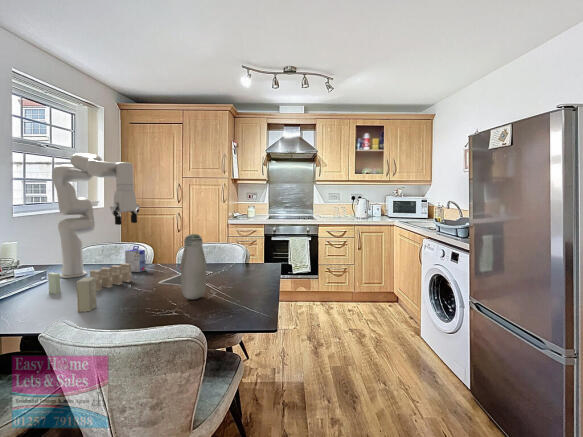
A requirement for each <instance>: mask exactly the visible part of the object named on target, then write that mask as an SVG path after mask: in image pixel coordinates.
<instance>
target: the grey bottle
mask: <svg viewBox="0 0 583 437" xmlns="http://www.w3.org/2000/svg"><path fill="white" fill-rule="evenodd" d="M183 243H184V246H183V251H182V252H183V253H182V256H181V259H180V266H181V270H180V274H181V286H180V288H181V292H182V295H183V296H184V298H186V299H187V300H197V299H200V298H201V297H203V296H204V294H205V293H206V289H207V276H206V272H207V261H206V255H205V252H204V247H203V238H202V236H201V235H200V234H198V233H197V234H196V233H195V234H194V233H193V234H191V233H190V234H188V235H186V236H185V237H184V240H183Z"/></svg>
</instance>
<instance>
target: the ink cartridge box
mask: <svg viewBox="0 0 583 437" xmlns="http://www.w3.org/2000/svg"><path fill="white" fill-rule="evenodd" d="M139 248H140V245H133V247H132V249H126V250H125V251H124V263H128V264H131V273H132V272H133V273H135V272H136V273H140V272H145V271H146V249H139Z"/></svg>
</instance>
